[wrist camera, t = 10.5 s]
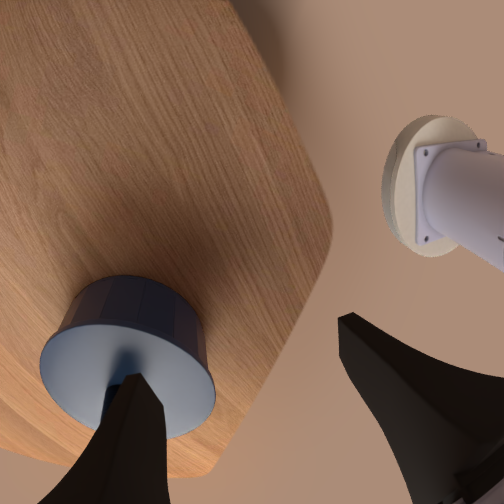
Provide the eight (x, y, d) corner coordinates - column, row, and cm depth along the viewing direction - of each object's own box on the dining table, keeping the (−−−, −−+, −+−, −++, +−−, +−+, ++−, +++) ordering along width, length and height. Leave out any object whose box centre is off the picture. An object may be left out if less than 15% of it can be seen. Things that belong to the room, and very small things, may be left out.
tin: (175, 257, 19) (172, 303, 14) (219, 367, 24) (228, 419, 19) (46, 295, 18) (18, 341, 13) (109, 390, 23) (101, 438, 18)
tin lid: (176, 288, 14) (174, 353, 10) (233, 414, 19) (245, 468, 15) (14, 331, 14) (-15, 383, 9) (100, 435, 19) (95, 482, 14)
